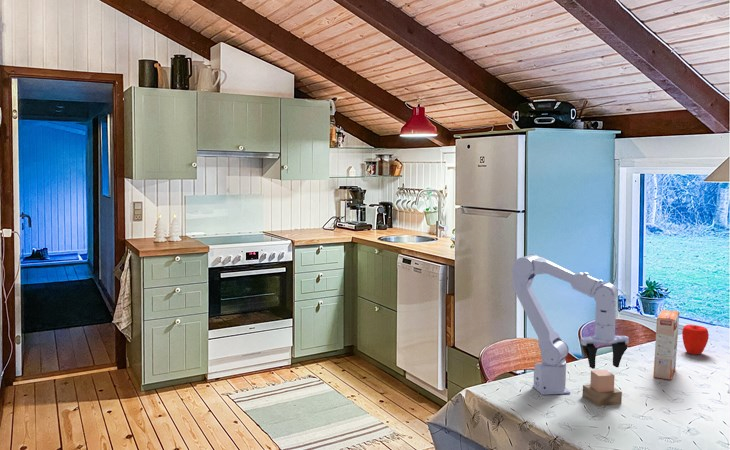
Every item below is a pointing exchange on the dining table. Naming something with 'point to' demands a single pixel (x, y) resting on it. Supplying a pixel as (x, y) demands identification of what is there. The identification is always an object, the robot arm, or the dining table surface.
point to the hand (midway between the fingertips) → (603, 367)
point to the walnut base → (602, 396)
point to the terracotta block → (602, 380)
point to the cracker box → (666, 344)
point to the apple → (695, 338)
